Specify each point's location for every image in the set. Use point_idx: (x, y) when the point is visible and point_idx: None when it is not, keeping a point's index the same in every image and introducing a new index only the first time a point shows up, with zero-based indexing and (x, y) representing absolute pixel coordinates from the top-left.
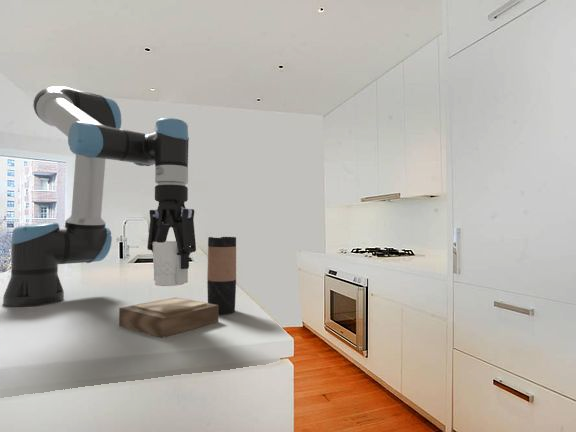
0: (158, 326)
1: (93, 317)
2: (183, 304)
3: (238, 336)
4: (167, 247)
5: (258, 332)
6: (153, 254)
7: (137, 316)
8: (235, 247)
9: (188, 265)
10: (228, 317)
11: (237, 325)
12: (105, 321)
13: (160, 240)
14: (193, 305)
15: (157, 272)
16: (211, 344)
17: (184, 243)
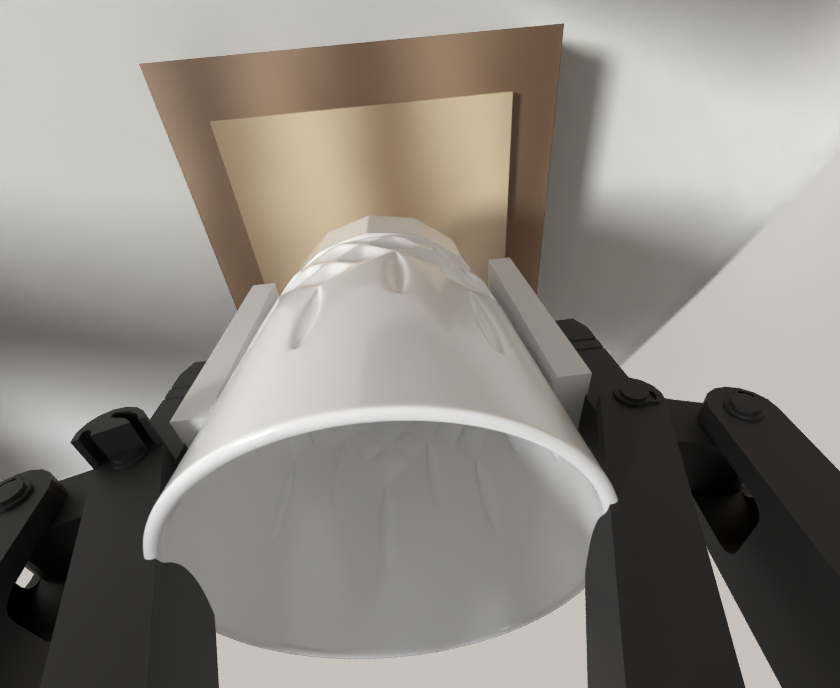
0: None
1: (101, 366)
2: (435, 207)
3: (731, 147)
4: (519, 569)
5: (797, 36)
6: (358, 536)
7: None
8: None
9: (589, 336)
10: None
11: (654, 10)
12: (195, 359)
13: (196, 620)
14: (494, 185)
15: (403, 425)
16: (683, 266)
17: (723, 550)
